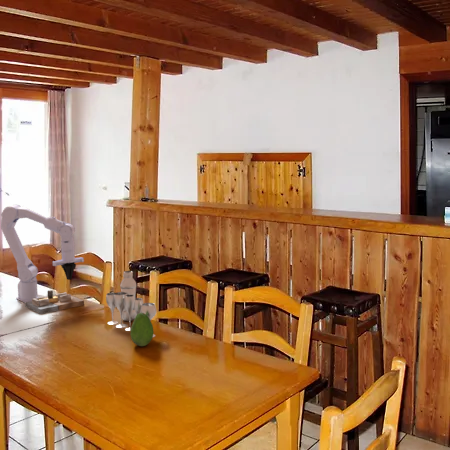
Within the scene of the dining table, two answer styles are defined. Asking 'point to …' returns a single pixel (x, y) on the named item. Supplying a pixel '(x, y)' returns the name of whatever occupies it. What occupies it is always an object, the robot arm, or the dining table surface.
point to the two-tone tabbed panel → (54, 303)
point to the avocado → (142, 330)
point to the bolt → (51, 297)
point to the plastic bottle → (128, 293)
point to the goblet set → (128, 307)
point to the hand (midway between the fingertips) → (69, 279)
